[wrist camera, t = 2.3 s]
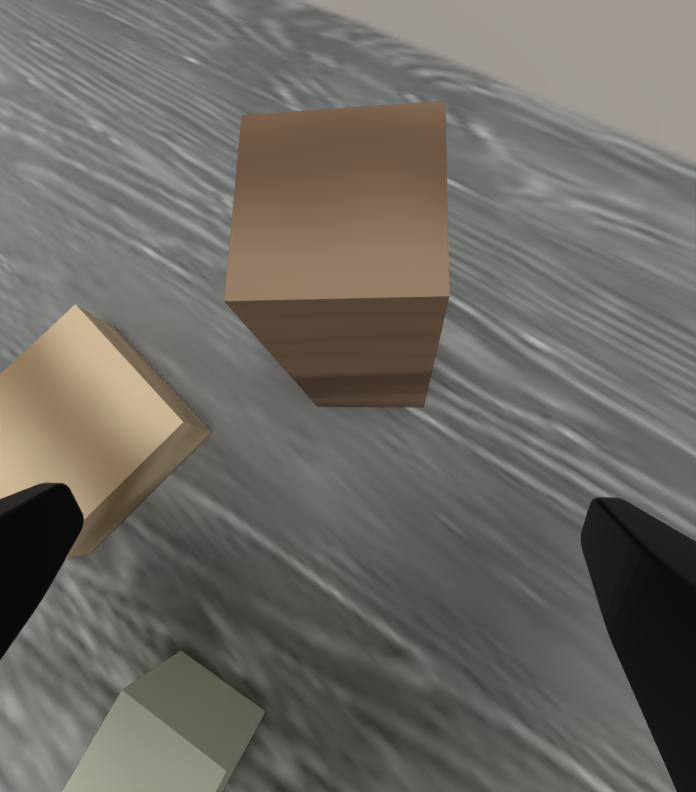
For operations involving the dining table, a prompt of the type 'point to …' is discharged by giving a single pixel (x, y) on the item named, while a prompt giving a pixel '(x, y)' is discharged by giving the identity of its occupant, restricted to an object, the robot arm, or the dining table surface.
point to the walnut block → (344, 248)
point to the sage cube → (169, 734)
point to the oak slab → (91, 423)
